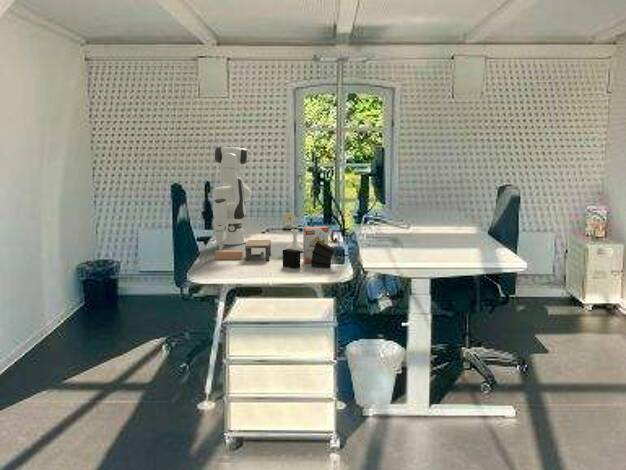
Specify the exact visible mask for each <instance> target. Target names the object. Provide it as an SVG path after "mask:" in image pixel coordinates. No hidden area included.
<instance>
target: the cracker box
mask: <svg viewBox="0 0 626 470" xmlns="http://www.w3.org/2000/svg"><path fill="white" fill-rule="evenodd" d="M302 230H303V235H302V236H303V237H302V241H303V242H302V243H303V244H302V246H303V252H302V253H303V255H302V256H303V258H302V259H303V263H305V264H312V263H311V261H312V255H313V253H312V252H313V251H314V247H315V244H316V243H317V241H320V242H322V243H324V244H326V245H328V246H329V227H328V226H326V225H325V226H306V227H303V229H302Z"/></svg>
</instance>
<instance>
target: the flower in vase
mask: <svg viewBox="0 0 626 470" xmlns="http://www.w3.org/2000/svg"><path fill="white" fill-rule="evenodd" d="M282 219H283V221H284V222H285V223H288V224H287V225H285V226H284V228H285V229H290V228H292V229H290V231H291V233H292V242H291V243H290V244H289V245H288V246H286V248H285V249H293V250H299V251H300V252H302V251H303V244H301V243H299V242H298V237H297V236H298V233H299V231H300V230H299V229H295V228H298V226H299V224H296V225H294V226H292V222H294V221H295V220H296V215H295V213H293V212H289V213H288V212H287V213H286V214H285V215H284V216H283V218H282Z"/></svg>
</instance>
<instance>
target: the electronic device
mask: <svg viewBox="0 0 626 470" xmlns="http://www.w3.org/2000/svg"><path fill="white" fill-rule="evenodd" d="M282 267H283V268H288V269H292V270H293V269H294V270H295V269H300V268H301V251H299V250H293V249H286V248H285V249H283V250H282Z"/></svg>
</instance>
